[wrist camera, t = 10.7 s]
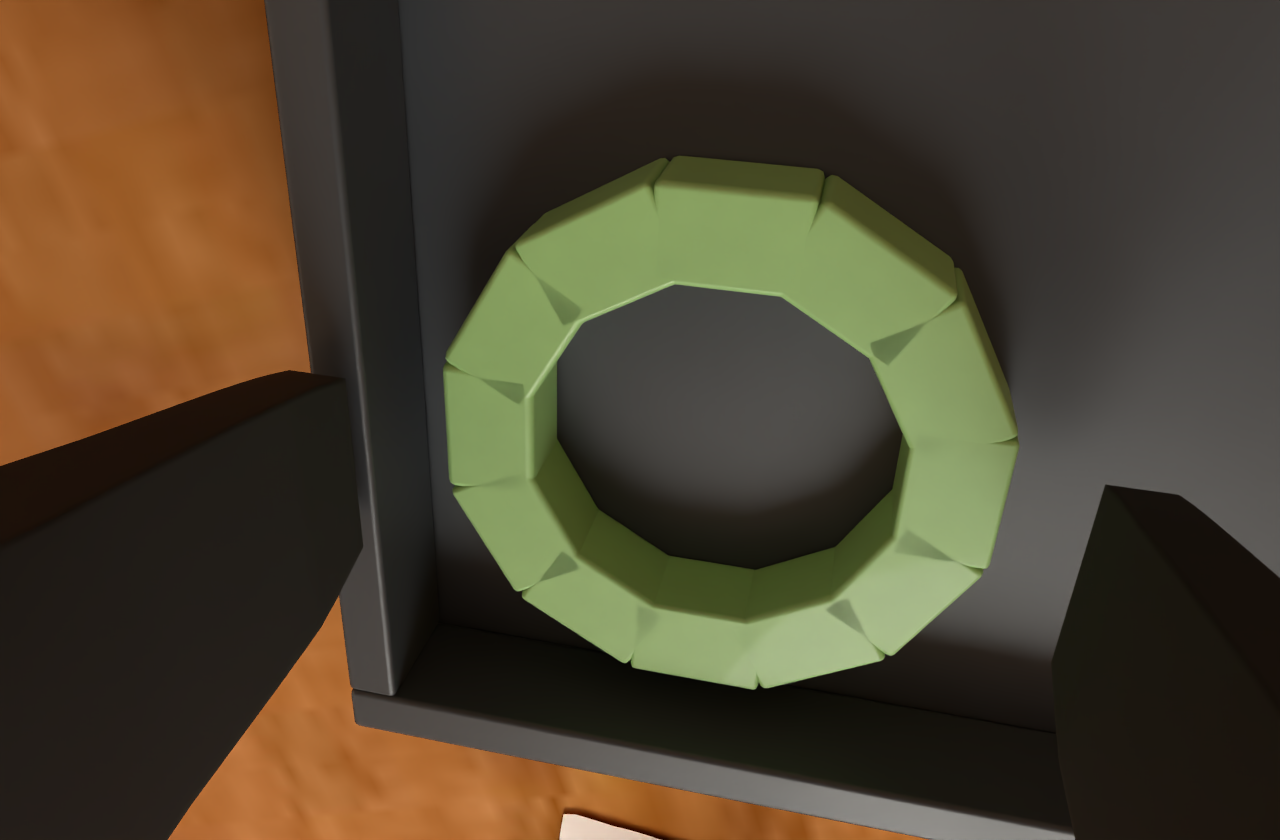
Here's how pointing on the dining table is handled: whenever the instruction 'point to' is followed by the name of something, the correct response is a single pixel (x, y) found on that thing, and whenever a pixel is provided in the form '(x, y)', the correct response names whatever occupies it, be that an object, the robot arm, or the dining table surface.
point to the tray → (789, 350)
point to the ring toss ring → (822, 289)
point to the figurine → (595, 830)
